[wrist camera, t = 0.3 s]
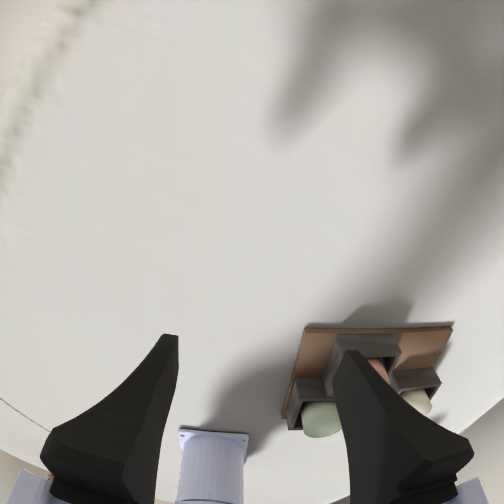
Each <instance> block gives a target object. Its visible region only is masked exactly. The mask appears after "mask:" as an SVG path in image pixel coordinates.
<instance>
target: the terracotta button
mask: <svg viewBox="0 0 504 504" xmlns="http://www.w3.org/2000/svg"><path fill="white" fill-rule="evenodd" d="M366 359H367V360H368V362H369V363H370V364H371V365H372V366H373V367H374V368H375V370H376V371H377V372H378V373H379V374H380V375H381V376H382V377H383V379H384V380H385V381H386V382H387V383H388V384H389V385H390V380H389V378H388V375H387V373H386V371H385V368H384V366H383V364H382V362H381V360H380V357H374V358H366Z"/></svg>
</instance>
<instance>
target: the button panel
mask: <svg viewBox="0 0 504 504" xmlns="http://www.w3.org/2000/svg"><path fill="white" fill-rule="evenodd" d="M452 331H453V329H452V328H451V326H448V327H428V328H397V329H320V328H304V332H303V336H302V340H301V344H300V348H299V352H298V356H297V359H296V363H295V367H294V371H293V375H292V378H291V382H290V386H289V389H288V393H287V396H286V400H285V403H284V407H283V410H282V414H281V415H282V419H287V424H288V430H303V424H302V417H301V411H300V408H301V405H302V403H303V402H306V401H335V400H334V392H333V384H332V380H333V378H334V375H335V373H336V371H337V369H338V367H339V364H340V362H341V360H342V358H343V355H344V353H345V351H346V350H359V352H360V353H361V354H362V355H363V356H364V357H365V358H374V357H380V360H381V362H382V364H383V366H384V368H385V371H386V373H387V375H388V378H389V380H390V386H391V387H392V388H393V389H394V390H395V391H396V392H397V393H398V394H399V395H400V393H401V392H402V391H409V390H416V389H423V388H424V390H425V392H426V394H427V396H428V398H429V400H431V399H432V397H433V396H434V394H435V393H436V391H437V390H438V388H439V387H440V385H441V384H442V383H441V381H440V379H439V377H438V376H437V374H436V372H435V370H434V368H433V367H434V365H435V363H436V362H437V360H438V358H439V356H440V354H441V353H442V351H443V349H444V347H445V345H446V343H447V341H448V339H449V337H450V335H451V333H452Z"/></svg>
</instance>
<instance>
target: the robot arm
mask: <svg viewBox="0 0 504 504" xmlns="http://www.w3.org/2000/svg"><path fill="white" fill-rule="evenodd" d="M178 370H179V362H178V336H177V335H170V334H163V335H161V337H160V338H159V340H158V341H157V343H156V344H155V346H154V347H153V348H152V350H151V351H150V352H149V354H148V355H147V356H146V357H145V359H144V360H143V361H142V362H141V363H140V365H139V366H138V367H137V368H136V369H135V370H134V371H133V372H132V373H131V374H130V375H129V377H128V378H127V379H126V380H125V381H124V382H123V383H122V384H120V385H119V386H118V387H117V388H116V389H115V390H114V391H113V392H111V393H110V394H109V395H108V396H106V397H105V398H104V399H103V400H101V401H100V402H99V403H97V404H96V405H95V406H93V407H92V408H90V409H88V410H87V411H85V412H84V413H82V414H80V415H79V416H77V417H75V418H73V419H72V420H70V421H67V422H65V423H63V424H61V425H59V426H57V427H55V428H53V429H52V431H51V433H50V434H49V436H48V438H47V439H46V441H45V444H44V446H43V449H42V451H41V454H40V459H41V461H42V462H43V464H44V465H45V466H46V467H47V469H48V470H49V471H50V472H51V473H52V474H53V475H54V479H53V482H51V481H49V480H47V479H45V478H43V477H41V476H39V475H37V474H34V473H32V472H30V471H28V470H26V469H23V468H21V469H20V471H19V473H18V476H17V478H16V481H15V484H14V487H13V489H12V492H11V495H10V497H9V501H8V503H7V504H154V499H155V488H156V478H157V470H158V462H159V455H160V448H161V441H162V436H163V432H164V428H165V424H166V421H167V417H168V414H169V410H170V406H171V403H172V399H173V396H174V392H175V388H176V382H177V376H178ZM332 384H333V392H334V400H335V404H336V408H337V412H338V415H339V419H340V423H341V427H342V430H343V434H344V438H345V442H346V447H347V455H348V463H349V475H350V504H488V501H487V499H486V496H485V494H484V491H483V489H482V486H481V483H480V481H479V479H478V478H477V477H476V478H474V479H471V480H469V481H467V482H464V483H462V484H460V485H458V486H455V484H454V482H455V481H457V477H456V473H457V472H458V471H459V470H461V469H462V468H463V467H464V466H465V465H466V464H467V463H468V462H470V460H471V459H472V458H473V456H474V451H473V449H472V447H471V445H470V443H469V440H468V439H467V438H465V437H462V436H460V435H458V434H455V433H453V432H451V431H449V430H447V429H445V428H444V427H442V426H440V425H438V424H437V423H435V422H433V421H432V420H430V419H429V418H427V417H426V416H424V415H423V414H422V413H420V412H419V411H418V410H416V409H415V408H414V407H413V406H411V405H410V404H409V403H408V402H407V401H405V400H404V399H403V398H402V397H401V396H400V395H399V394H398V393H397V392H396V391H395V390H394V389H393V388H392V387H391V386H390V385H389V384H388V383H387V382H386V381H385V380H384V379H383V377H382V376H381V375H380V374H379V373H378V372H377V371H376V370H375V368H374V367H373V366H372V365H371V364H370V363H369V362H368V360H367V359H366V358H365V357H364V356H363V355H362V354H361V353H360V352H359V350H346V351H345V353H344V355H343V358H342V360H341V362H340V364H339V367H338V369H337V371H336V373H335V375H334V378H333V380H332ZM178 436H179V442H180V447H181V452H182V462H181V469H180V477H179V485H178V493H177V500H176V501H175V504H243V467H244V462H245V457H246V452H247V446H248V441H249V435H247V434H236V433H220V432H207V431H197V430H187V429H179V430H178Z"/></svg>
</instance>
